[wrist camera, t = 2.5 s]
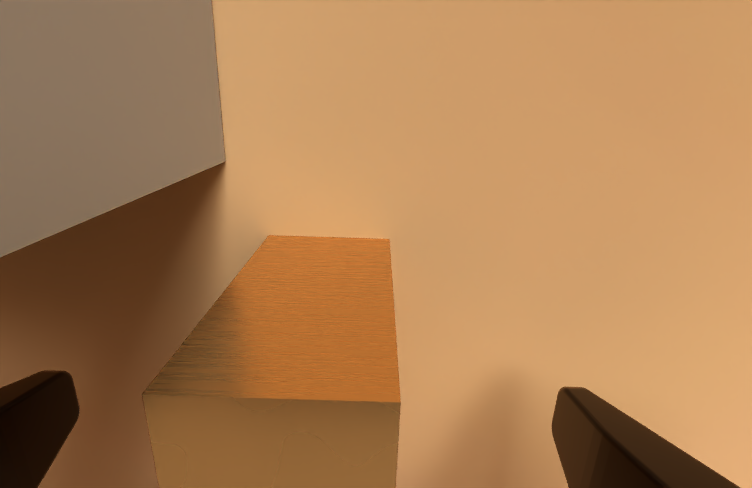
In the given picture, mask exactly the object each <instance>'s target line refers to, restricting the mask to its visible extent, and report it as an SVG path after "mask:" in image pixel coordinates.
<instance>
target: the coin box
mask: <svg viewBox="0 0 752 488" xmlns="http://www.w3.org/2000/svg"><path fill="white" fill-rule="evenodd" d="M223 162H225V152H224V140H223V128H222V117H221V105H220V94H219V82H218V71H217V59H216V47H215V36H214V24H213V13H212V1H211V0H0V257H2V256H5V255H7V254H9V253H12V252H14V251H16V250H19V249H21V248H24V247H26V246H28V245H31V244H33V243H35V242H38V241H40V240H42V239H45V238H47V237H49V236H52V235H54V234H56V233H59V232H61V231H63V230H66V229H68V228H70V227H73V226H75V225H78V224H80V223H82V222H85V221H87V220H89V219H92V218H94V217H96V216H99V215H101V214H103V213H106V212H108V211H110V210H113V209H115V208H117V207H120V206H122V205H124V204H127V203H129V202H132V201H134V200H136V199H139V198H141V197H143V196H146V195H148V194H150V193H153V192H155V191H157V190H160V189H162V188H164V187H167V186H169V185H171V184H174V183H176V182H178V181H181V180H183V179H186V178H188V177H190V176H193V175H195V174H197V173H200V172H202V171H204V170H207V169H209V168H211V167H214V166H216V165H218V164H221V163H223Z"/></svg>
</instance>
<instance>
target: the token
mask: <svg viewBox="0 0 752 488" xmlns="http://www.w3.org/2000/svg"><path fill="white" fill-rule="evenodd" d="M142 397H143V403H144V408H145V414H146V419H147V425H148V430H149V436H150V441H151V447H152V452H153V457H154V463H155V468H156V474H157V479H158V485H159V488H395V487H396V470H397V453H398V436H399V419H400V403H401V402H400V387H399V373H398V358H397V343H396V328H395V313H394V298H393V284H392V269H391V254H390V239H370V238H338V237H305V236H273V235H269V236H268V237H267V238H266V239H265V241H264V242H263V243H262V244H261V246H260V247H259V248H258V249H257V251H256V252H255V253H254V254H253V256H252V257H251V258H250V260H249V261H248V262H247V263H246V265H245V266H244V267H243V268H242V270H241V271H240V272H239V273H238V275H237V276H236V277H235V278H234V280H233V281H232V282H231V283H230V285H229V286H228V287H227V288H226V290H225V291H224V292H223V293H222V295H221V296H220V297H219V298H218V300H217V301H216V302H215V303H214V305H213V306H212V307H211V308H210V310H209V311H208V312H207V314H206V315H205V316H204V317H203V319H202V320H201V321H200V322H199V324H198V325H197V326H196V327H195V329H194V330H193V331H192V332H191V334H190V335H189V336H188V337H187V339H186V340H185V341H184V342H183V344H182V345H181V346H180V347H179V349H178V350H177V351H176V352H175V354H174V355H173V356H172V357H171V359H170V360H169V361H168V362H167V364H166V365H165V366H164V368H163V369H162V370H161V371H160V373H159V374H158V375H157V376H156V378H155V379H154V380H153V381H152V383H151V384H150V385H149V386H148V388H147V389H146V390H145V391H144V393H143V394H142Z"/></svg>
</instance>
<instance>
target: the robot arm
mask: <svg viewBox="0 0 752 488" xmlns="http://www.w3.org/2000/svg"><path fill="white" fill-rule="evenodd" d="M78 416H79V403H78V399H77V395H76V391H75V387H74V383H73V379H72V376H71V375H70V374H69V373H68V372H66V371H41V372H38V373H36V374H33V375H31V376H29V377H26V378H24V379H21V380H19V381H16V382H14V383H11V384H9V385H7V386H4V387H2V388H0V488H38V486H39V484H40V483H41V481H42V479H43V478H44V476H45V474H46V473H47V471H48V469H49V467H50V466H51V464H52V462H53V461H54V459H55V457H56V456H57V454H58V452H59V451H60V449H61V447H62V445H63V444H64V442H65V440H66V439H67V437H68V435H69V434H70V432H71V430H72V429H73V427H74V425H75V423H76V421H77V419H78ZM552 434H553V438H554V441H555V444H556V448H557V451H558V454H559V457H560V461H561V464H562V467H563V470H564V474H565V477H566V480H567V483H568V487H569V488H740V487H739V486H737V485H736V484H734V483H732V482H731V481H729V480H728V479H726V478H725V477H723V476H721V475H720V474H718V473H717V472H715V471H714V470H712V469H711V468H709V467H707V466H706V465H704V464H703V463H701V462H700V461H698V460H697V459H695V458H693V457H692V456H690V455H689V454H687V453H686V452H684V451H683V450H681V449H679V448H678V447H676V446H675V445H673V444H672V443H670V442H668V441H667V440H665V439H664V438H662V437H661V436H659V435H658V434H656V433H654V432H653V431H651V430H650V429H648V428H647V427H645V426H644V425H642V424H640V423H639V422H637V421H636V420H634V419H633V418H631V417H629V416H628V415H626V414H625V413H623V412H622V411H620V410H619V409H617V408H615V407H614V406H612V405H611V404H609V403H608V402H606V401H605V400H603V399H601V398H600V397H598V396H597V395H595V394H594V393H592V392H591V391H589V390H587V389H586V388H582V387H563V388H561V389H560V390H559V392H558V396H557V401H556V405H555V410H554V415H553V420H552Z"/></svg>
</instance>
